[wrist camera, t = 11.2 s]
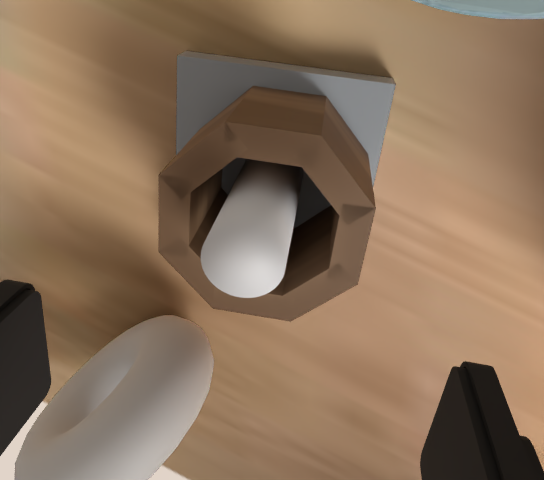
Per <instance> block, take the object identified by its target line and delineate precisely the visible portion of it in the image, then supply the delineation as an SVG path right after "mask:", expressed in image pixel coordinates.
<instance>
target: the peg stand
mask: <svg viewBox="0 0 544 480" xmlns="http://www.w3.org/2000/svg"><path fill="white" fill-rule="evenodd" d="M395 85H396V84H395V82H394V80H393V78H389V77H381V76H373V75H366V74H358V73H351V72H343V71H336V70H328V69H321V68H313V67H305V66H298V65H290V64H283V63H275V62H268V61H260V60H252V59H245V58H237V57H230V56H222V55H215V54H207V53H200V52H192V51H185V52H183V53H181V54H179V55H177V115H176V155H177V154H178V153H179V152H180V151H181V149H182V148H183V147H184V146H185V145H186V144H187V143H188V142H189V141H190V139H191V138H192V137H193V136H194V135H195V134H196V133H197V132H198V130H199V129H201V128H202V127H203V126H204V125H205V124H207V123H208V122H209V121H210V120H212V119H213V118H214V117H215V116H216V115H218V114H219V113H220V112H221V111H223V110H224V109H225V108H226V107H228V106H229V105H230V104H231V103H232V102H234V101H235V100H236V99H237V98H239V97H240V96H241V95H242V94H243V93H245V92H246V91H247V90H248V89H250V88H251V87H252V86H259V87H266V88H273V89H280V90H287V91H294V92H301V93H308V94H315V95H322V96H327V98H328V99H329V100H330V102H331V103H332V104H333V106H334V107H335V109H336V110H337V111H338V113H339V114H340V116H341V117H342V118H343V120H344V121H345V123H346V124H347V125H348V127H349V128H350V129H351V131H352V132H353V134H354V135H355V136H356V138H357V139H358V141H359V142H360V143H361V145H362V146H363V148H364V149H365V150H366V152H367V153H368V156H369V164H370V171H371V178H372V185H374V181H375V176H376V172H377V167H378V162H379V158H380V153H381V149H382V144H383V140H384V135H385V131H386V126H387V122H388V117H389V113H390V108H391V104H392V99H393V95H394V90H395ZM221 188H222V189H223V190H224V191H225V192H226V193H227V195H228V197H227V199H226V201H225V203H224V205H223V207H222V208H221V210H220V212H219V214H218V216H217V218H216V220H215V222H214V224H213V226H212V228H211V230H210V232H209V234H208V236H207V238H206V240H205V242H204V244H203V246H202V250H201V265H202V268H203V271H204V273H205V275H206V276H207V278H208V279H209V280H210V282H211V283H212V284H213V285H214V286H216V287H217V288H218V289H220V290H221V291H223V292H225V293H227V294H229V295H232V296H236V297H241V298H254V297H259V296H262V295H265V294H267V293H269V292H271V291H272V290H273V289H275V288H276V287H277V286H278V285H279V283H280V282H281V280H282V278H283V276H284V273H285V269H286V263H287V258H288V253H289V248H290V243H291V237H292V232H293V228H296V227H298V226H299V225H301V224H302V223H304V222H305V221H307V220H309V219H310V218H312V217H313V216H315V215H316V214H318V213H319V212H321V211H323V210H324V209H326V208H327V207H329V206H330V205H331V204H330V203H329V201H328V200H327V199H326V198H325V196H324V195H323V194H322V192H321V191H320V190H319V189H318V187H317V186H316V185H315V183H314V182H313V181H312V180H311V178H310V177H309V176H308V174H307V173H306V172H305V171H304V169H303V168H302V167H298V166H292V165H285V164H278V163H272V162H265V161H258V160H252V159H245V158H239V157H237V158H235V159H234V160H233V161H231V162H230V163H229V164H228V165H226V166H225V167H224V168H223V170H222V185H221Z"/></svg>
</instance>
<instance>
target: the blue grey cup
mask: <svg viewBox="0 0 544 480" xmlns="http://www.w3.org/2000/svg"><path fill="white" fill-rule="evenodd" d="M412 1H415V2H418V3H421V4H424V5H427V6H431V7H434V8H437V9H440V10H445V11H450V12H455V13H460V14H464V15H472V16H480V17H488V18H497V19H544V0H412Z"/></svg>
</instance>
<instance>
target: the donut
mask: <svg viewBox="0 0 544 480" xmlns="http://www.w3.org/2000/svg"><path fill="white" fill-rule="evenodd" d="M213 367H214V358H213V354H212V350H211V347H210V343H209V340H208V337H207V335H206V334H205V332H204V331H203V329H202V328H201V327H199V326H198V325H197V324H195V323H194V322H192V321H189V320H187V319H184V318H181V317H178V316H175V315H163V316H159V317H155V318H151V319H148V320H145V321H143V322H141V323H139V324H137V325H135V326H133V327H131V328H129V329H128V330H126V331H125V332H123V333H122V334H120V335H119V336H118V337H116V338H115V339H113V340H112V341H111V342H109V343H108V344H107V345H106V346H105V347H103V348H102V349H101V350H100V351H99V352H97V353H96V354H95V355H94V356H93V357H91V358H90V359H89V360H88V361H87V362H86V363H85V364H84V365H83V366H82V367H81V368H80V369H79V370H78V371H77V372H76V373H75V374H74V375H73V376H72V377H71V378H70V379H69V380H68V381H67V383H66V384H65V385H64V386H63V387H62V388H61V389H60V390H59V391H58V393H57V394H56V395H55V396H54V397H53V398H52V400H51V401H50V402H49V404H48V405H47V406H46V407H45V409H44V410H43V411H42V413H41V414H40V415H39V417H38V418H37V420H36V421H35V423H34V425H33V426H32V428H31V429H30V431H29V432H28V434H27V436H26V438H25V441H24V443H23V445H22V448H21V450H20V453H19V455H18V458H17V460H16V463H15V480H148V479H149V478H150V477H151V476H152V475H153V474H154V473H155V472H156V471H157V470H158V469H159V467H160V466H161V465H162V464H163V463H164V462H165V461H166V459H167V458H168V457H169V456H170V455H171V454H172V453H173V451H174V450H175V449H176V448H177V446H178V445H179V443H180V442H181V440H182V439H183V437H184V436H185V434H186V433H187V431H188V430H189V428H190V427H191V426H192V424H193V423H194V421H195V419H196V418H197V416H198V414H199V412H200V410H201V407H202V405H203V403H204V401H205V399H206V397H207V394H208V392H209V389H210V384H211V379H212V374H213Z"/></svg>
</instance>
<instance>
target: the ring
mask: <svg viewBox="0 0 544 480" xmlns="http://www.w3.org/2000/svg"><path fill="white" fill-rule="evenodd" d="M237 157H239V158H245V159H252V160H258V161H265V162H272V163H278V164H285V165H292V166H298V167H302V168H303V169H304V171H305V172H306V173H307V174H308V176H309V177H310V178H311V180H312V181H313V182H314V183H315V185H316V186H317V187H318V189H319V190H320V191H321V192H322V194H323V195H324V196H325V198H326V199H327V200H328V201H329V203H330V204H331V205H330V206H329V207H327V208H326V209H324V210H323V211H321V212H319V213H318V214H316V215H315V216H313V217H312V218H310V219H309V220H307V221H305V222H304V223H302V224H301V225H299V226H298V227H296V228H293V232H292V237H291V243H290V248H289V253H288V258H287V263H286V269H285V273H284V276H283V278H282V280H281V282H280V283H279V285H278V286H277V287H276V288H275V289H273V290H272V291H271V292H269V293H267V294H265V295H262V296H259V297H254V298H241V297H236V296H232V295H229V294H227V293H225V292H223V291H221V290H220V289H218V288H217V287H216V286H214V285H213V284H212V283H211V282H210V280H209V279H208V278H207V276H206V275H205V273H204V271H203V268H202V265H201V250H202V246H203V244H204V242H205V240H206V238H207V236H208V234H209V232H210V230H211V228H212V226H213V224H214V222H215V220H216V218H217V216H218V214H219V212H220V210H221V208H222V207H223V205H224V203H225V201H226V199H227V197H228V195H227V193H226V192H225V191H224V190H223V189H222V188H221V185H222V170H223V168H224V167H225V166H226V165H228V164H229V163H230V162H231V161H233V160H234V159H235V158H237ZM375 209H376V207H375V200H374V193H373V185H372V178H371V171H370V164H369V156H368V153H367V152H366V150H365V149H364V148H363V146H362V145H361V143H360V142H359V141H358V139H357V138H356V136H355V135H354V134H353V132H352V131H351V129H350V128H349V127H348V125H347V124H346V123H345V121H344V120H343V118H342V117H341V116H340V114H339V113H338V111H337V110H336V109H335V107H334V106H333V104H332V103H331V102H330V100H329V99H328V98H327V96H322V95H315V94H308V93H301V92H294V91H287V90H280V89H273V88H266V87H259V86H252V87H251V88H250V89H248V90H247V91H246V92H245V93H243V94H242V95H241V96H240V97H239V98H237V99H236V100H235V101H234V102H232V103H231V104H230V105H229V106H228V107H226V108H225V109H224V110H223V111H221V112H220V113H219V114H218V115H216V116H215V117H214V118H213V119H212V120H210V121H209V122H208V123H207V124H205V125H204V126H203V127H202V128H201V129H199V130H198V132H197V133H196V134H195V135H194V136H193V137H192V138H191V139H190V141H189V142H188V143H187V144H186V145H185V146H184V147H183V148H182V149H181V151H180V152H179V153H178V154H177V155H176V156H175V157H174V158H173V160H172V161H171V162H170V163H169V164H168V165H167V166H166V167H165V168H164V170H163V171H162V172H161V173H160V174H159V253H160V254H161V255H162V256H163V257H164V258H165V259H166V260H167V261H168V262H169V263H170V264H171V265H172V266H173V267H174V268H175V269H176V271H177V272H178V273H179V274H180V275H181V276H182V277H183V278H184V279H185V280H186V281H187V282H188V283H189V284H190V285H191V286H192V287H193V288H194V289H195V290H196V291H197V292H198V293H199V294H200V296H201V297H202V298H203V299H204V300H205V301H206V302H207V303H208V304H209V305H210V306H211V307H212V308H213V309H219V310H225V311H231V312H237V313H243V314H249V315H255V316H261V317H267V318H273V319H279V320H285V321H293V320H294V319H296V318H298V317H300V316H302V315H303V314H305V313H307V312H309V311H311V310H312V309H314V308H316V307H318V306H320V305H321V304H323V303H325V302H327V301H329V300H330V299H332V298H334V297H336V296H338V295H339V294H341V293H343V292H345V291H347V290H348V289H350V288H352V287H354V286H356V285H357V284H358V281H359V277H360V272H361V268H362V264H363V260H364V255H365V251H366V247H367V243H368V239H369V234H370V230H371V226H372V222H373V217H374V213H375Z"/></svg>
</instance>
